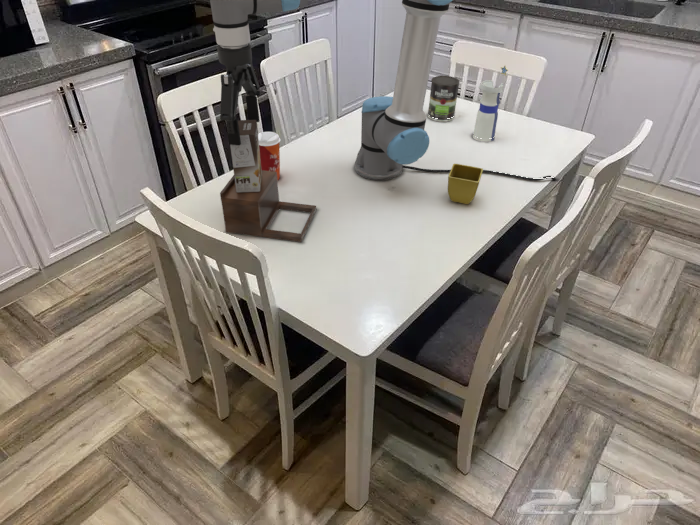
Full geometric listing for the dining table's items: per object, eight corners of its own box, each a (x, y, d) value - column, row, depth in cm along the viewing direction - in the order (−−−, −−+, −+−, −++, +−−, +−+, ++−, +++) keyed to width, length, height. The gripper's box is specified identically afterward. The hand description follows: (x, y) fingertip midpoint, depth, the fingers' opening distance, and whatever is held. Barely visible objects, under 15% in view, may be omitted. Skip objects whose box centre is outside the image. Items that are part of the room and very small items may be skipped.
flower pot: (478, 194, 161) (483, 168, 155) (474, 209, 154) (479, 182, 149) (449, 189, 163) (453, 162, 158) (444, 203, 157) (447, 176, 151)
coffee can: (454, 123, 202) (459, 86, 193) (426, 120, 203) (430, 84, 194) (454, 112, 210) (459, 76, 201) (428, 110, 211) (432, 74, 202)
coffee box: (260, 192, 139) (254, 134, 129) (236, 193, 139) (228, 135, 129) (262, 175, 146) (256, 119, 136) (238, 175, 146) (231, 119, 136)
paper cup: (278, 185, 164) (275, 143, 155) (255, 182, 165) (250, 140, 156) (286, 173, 170) (283, 131, 161) (263, 170, 171) (259, 129, 162)
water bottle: (477, 130, 197) (488, 60, 182) (498, 136, 193) (512, 66, 178) (467, 137, 192) (478, 67, 176) (489, 144, 188) (502, 72, 173)
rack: (316, 210, 153) (315, 172, 146) (301, 242, 141) (299, 202, 133) (246, 201, 156) (242, 164, 149) (226, 232, 144) (219, 193, 136)
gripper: (237, 28, 131) (247, 111, 144) (194, 60, 111) (211, 153, 125) (267, 29, 129) (274, 113, 143) (228, 63, 110) (241, 156, 123)
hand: (245, 132), depth 134 cm, fingers open, 13 cm apart
